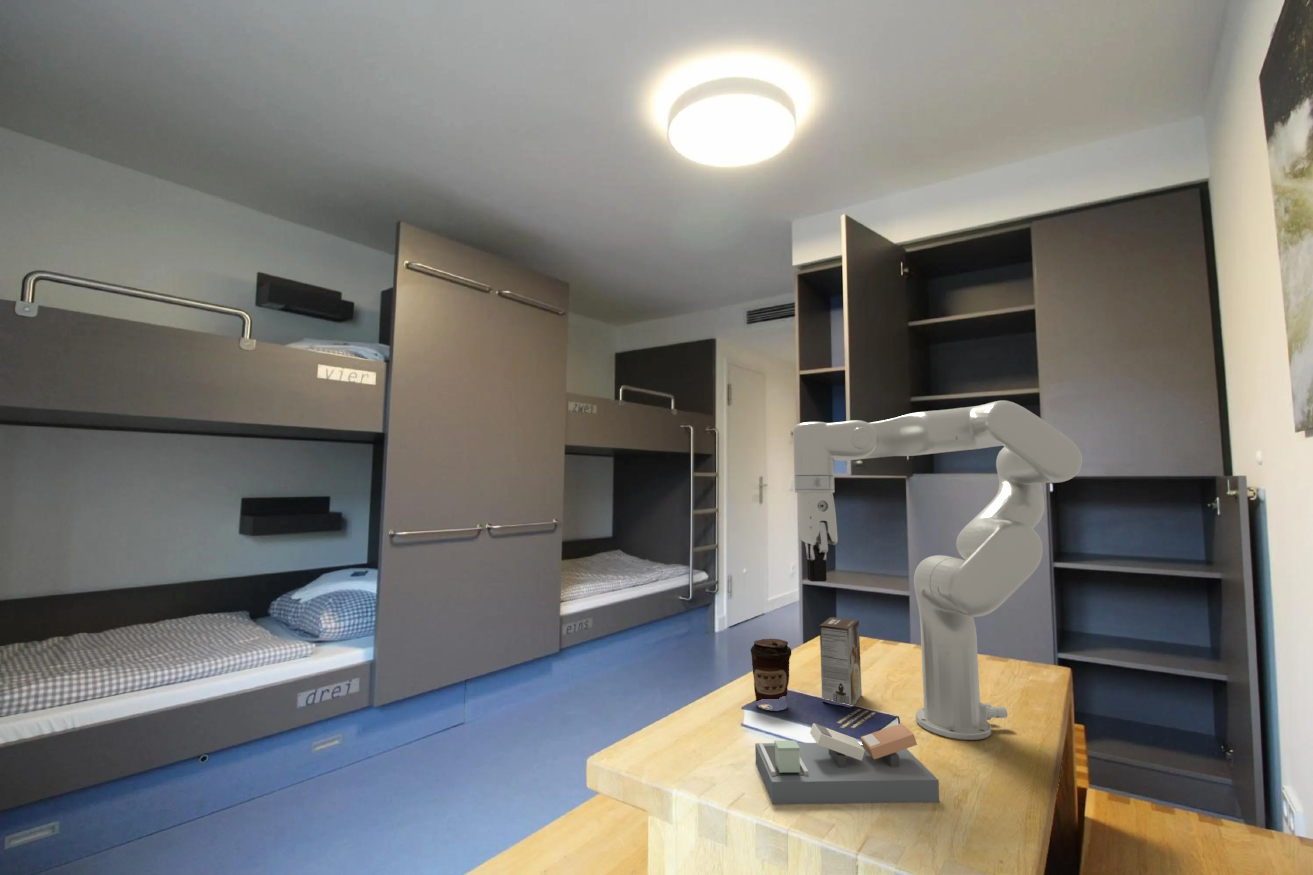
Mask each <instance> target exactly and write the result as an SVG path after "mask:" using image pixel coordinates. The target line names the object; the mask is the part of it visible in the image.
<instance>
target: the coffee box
mask: <svg viewBox="0 0 1313 875" xmlns="http://www.w3.org/2000/svg"><path fill="white" fill-rule="evenodd" d="M860 640H861V639H860V620H859V619H854V618H852V619H851V618H842V617H835V616H831V617H829V618H827V619H826V620H825V621H824V622H822V623H821V624H819V643H820V644H819V646H820V650H819V651H820V672H821V675H820V677H821V699H822V698H824V699H829V700H833V701H835V702H838V703H845V704H849V705H854V706H855V705H856V703H858V701H859V699H860V698H861V696H862V694H863V692H862V672H861V671H862V670H861V668H862V667H861V645H860V643H861V642H860ZM857 700H858V701H857Z"/></svg>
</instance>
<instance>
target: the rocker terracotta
mask: <svg viewBox="0 0 1313 875" xmlns="http://www.w3.org/2000/svg"><path fill="white" fill-rule="evenodd" d="M915 736H916V735H915V734H914V733H913V732H912V731H911V730H910V729H909V728H907V726H906V725H904V724H903V723H901V722H900V723H898V724H895V725H892V726H889V727H886V728H883V729H881V730H880V729H879V730H877V731H875V732H871V733H868V734H865V735H863V736H860V740H861V742H862V744H863V747H864V748H865V750H866V751H867V752H868V753H869V754H870V755H871V757H872V758H873V759H877V758H880V757H883V756H886V755H889V754H892V753H895V752H898V751H901V750H904V749H906V748H907V749H909V748H912V747H915V746H917V745H918V743H917V739H916V737H915Z"/></svg>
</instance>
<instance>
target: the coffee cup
mask: <svg viewBox="0 0 1313 875" xmlns="http://www.w3.org/2000/svg"><path fill="white" fill-rule="evenodd" d="M753 642H754V643H753V645H752V646H751V648H750V654H751V663H752V664H751V666H752V674H753V686H754V696H755V702H756V701H759V700H761V699H779V698H780V697H782V696H786V697H787V695H788V686H789V683H790V682H789V680H790V659H791V656H792V649H791V647H790V646H788V644H789V642H788V641H787V640H782V639H777V638H762V639H758V640H754V641H753Z"/></svg>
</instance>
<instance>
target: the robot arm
mask: <svg viewBox="0 0 1313 875" xmlns="http://www.w3.org/2000/svg"><path fill="white" fill-rule="evenodd" d="M792 434H793V435H792V437H793V438H792V439H793V441H792V442H793V470H794V472H793V473H794V474H793V475H794V477H793V480H794V493H796V494H797V493H798V502H797V503H798V516H797V517H798V519H797V520H798V536H799V537H798V538H799V539H800V540H801V541H802V542H803V543H804V545H805V550H806V551H805V552H806V559H807V560H806V569H807V570H806V572H807V580H808V581H810V582H826V581H827V580H828V579H827V553H828V552H829V545H832V546H835V545H836V544H837V543H838V542H839V541H838V538H839V537H838V524H837V514H836V505H835V498H834V493H835V467H834V466H835V463H834V460H835V461H839V462H846V461H855V460H865V459H876V458H887V457H907V456H908V457H913V456H923V455H931V454H932V455H933V454H941V453H951V452H960V451H969V450H971V451H972V450H980V449H987V448H994V447H1002V446H1003V447H1002V448H1001V450H1000V451H998V454H997V456H996V461H995V467H996V472H997V476H998V482H999V483H998V484H999V485H998V490H997V493H996V495H995V496H994V498H993V499H992V500H991V501H990V502H989V503H988V504H987V505H986V506H985V507H984V508H983V509H981V511H980V512H979V513H978V514H976V515H975V517H974V518H973V519H971V521H969V522H968V524H966V525H965V526H964V527H963V528H962V529H961V531H960V532H959V533H958V535H957V538H956V543H955V547H956V550H957V552H958V554H959V555H960V556H961V557H962V558H963V559H962V558H959V557H953V556H950V555H942V554H939V555H937V554H936V555H931V556H928V557H926V558H924V559H923V560H921V561H920V563H919V564H918V565H917V567H916V569H915V571H914V576H913V586H914V587H913V588H914V592H915V598H916V603H917V608H918V612H919V613H918V614H919V624H920V626H919V628H920V644H921V645H920V647H921V648H920V649H921V668H922V670H921V671H922V672H921V673H922V688H923V689H922V690H923V691H922V692H923V708H920V709H918V710H917V711H916V712H915V721H916V722H917V724H919V726H920V727H921V728H923V729H925V730H927V731H929V732H931V733H934V734H935V735H939V736H941V737H942V736H943V737H946V738H950V739H956V740H963V741H964V740H966V741H974V740H975V741H977V740H985V739H986V738H989V736H991V734H992V726H991V724H990V722H989V721H990V720H991V719H992V718H994V719H1007V718H1008V711H1007V709H1006V707H1005V706H992V705H991V703H989V702H988V703H984V702H982V701H981V693H980V692H981V691H980V680H979V679H980V676H979V658H978V637H977V628H976V624H975V619H974V617H975V618H977V617H984V616H987V615H989V614H991V613H992V612H994V611H995V610H997V609H998V608H1000V606H1002V604H1004V603H1005V602H1006V601H1007V600H1008V599H1009V597H1011V595H1013V594H1014V593H1015V592H1016V591H1017V590H1018V589H1019V588H1020V587H1021V586H1022V585H1023V584H1024V583H1025V582H1026V581H1027V580H1028V579H1029V578H1030V577H1031V575H1033V574H1034V572H1035V571H1036V569H1037V568H1038V567H1039V565H1040V564H1041V561H1042V558H1043V554H1044V553H1043V552H1044V548H1043V547H1044V546H1043V543H1042V538H1041V536H1040V535H1039V534H1038V533H1037V531H1035V529H1034V528H1035V527H1036V526H1037V525H1038V524H1039V522H1040V521H1041V519H1042V518H1043V515H1044V513H1045V497H1044V492H1043V487H1042V486H1043V485H1042V484H1056V483H1058V484H1059V483H1064V482H1067V481H1069V480H1071V479H1073V478H1075V477H1076V476H1077V475H1078V474H1079V473H1080V472H1081V469H1082V466H1083V455H1082V453H1081V450H1080V449H1079V447H1078V446H1077V444H1076V443H1075V441H1073V440H1072V439H1070V437H1068V436H1067V435H1065V434H1064V433H1062V432H1061V431H1060V430H1058V429H1057V428H1055V427H1054V426H1052V425H1051V424H1050V423H1048V422H1047V421H1045V420H1044V419H1043V418H1041V417H1040V416H1038V415H1036V414H1035V413H1033V412H1032V411H1030V410H1028V409H1027V408H1025V407H1024V406H1021V405H1020V404H1018V403H1015V402H1013V401H1011V400H1010V401H1009V400H997V401H996V400H995V401H991V402H988V403H985V404H980V405H975V406H974V405H973V406H966V407H956V408H948V409H939V410H928V411H927V410H926V411H917V412H912V413H907V414H904V415H901V416H897V417H893V418H889V419H885V420H884V419H883V420H879V421H873V422H867V421H865V420H860V419H859V420H858V419H856V420H855V419H853V420H846V421H837V422H824V421H806V422H800V423H797V424H796V425H795V426H794V428H793V432H792ZM828 544H829V545H828Z"/></svg>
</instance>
